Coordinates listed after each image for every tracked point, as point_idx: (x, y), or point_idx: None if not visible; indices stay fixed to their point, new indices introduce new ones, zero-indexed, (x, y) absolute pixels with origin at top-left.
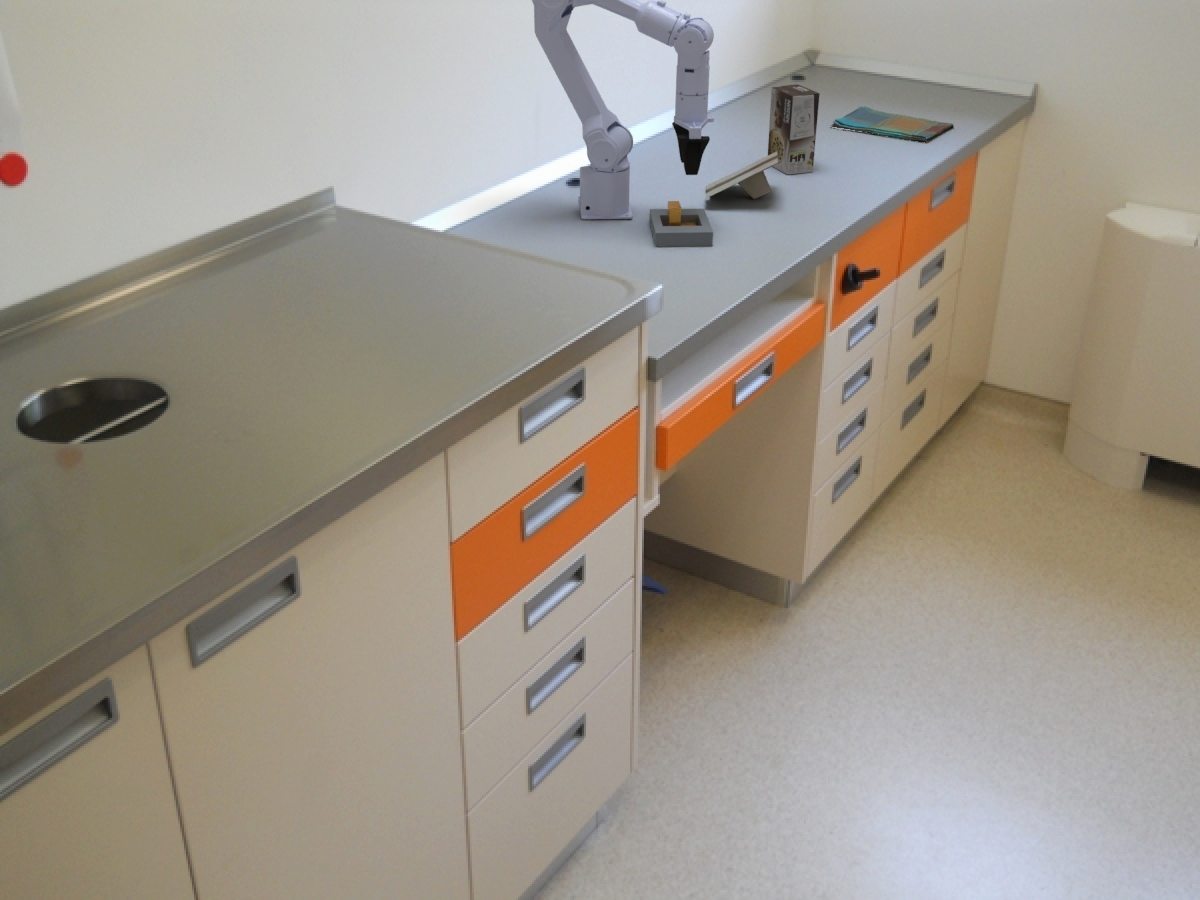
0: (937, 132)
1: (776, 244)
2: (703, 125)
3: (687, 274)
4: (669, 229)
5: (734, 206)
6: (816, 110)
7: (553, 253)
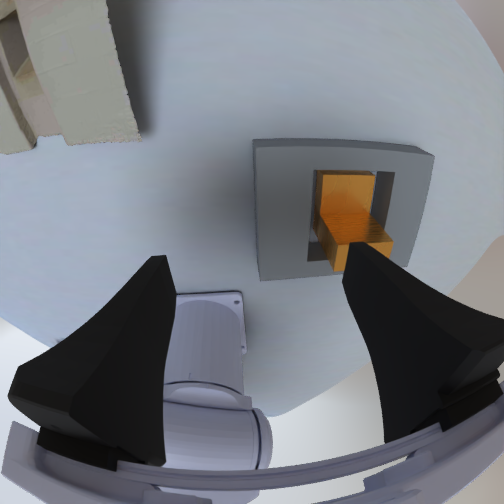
0: None
1: (414, 15)
2: (494, 444)
3: (489, 211)
4: (399, 243)
5: None
6: None
7: None
